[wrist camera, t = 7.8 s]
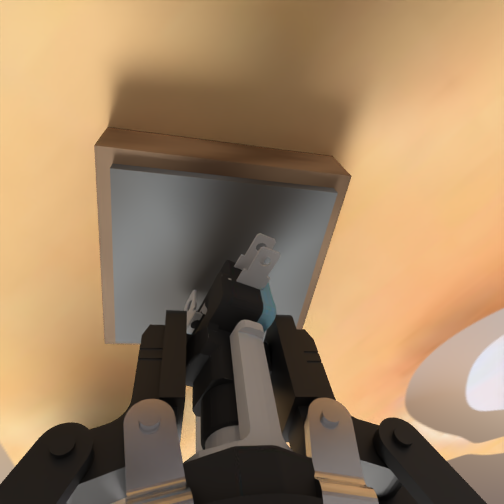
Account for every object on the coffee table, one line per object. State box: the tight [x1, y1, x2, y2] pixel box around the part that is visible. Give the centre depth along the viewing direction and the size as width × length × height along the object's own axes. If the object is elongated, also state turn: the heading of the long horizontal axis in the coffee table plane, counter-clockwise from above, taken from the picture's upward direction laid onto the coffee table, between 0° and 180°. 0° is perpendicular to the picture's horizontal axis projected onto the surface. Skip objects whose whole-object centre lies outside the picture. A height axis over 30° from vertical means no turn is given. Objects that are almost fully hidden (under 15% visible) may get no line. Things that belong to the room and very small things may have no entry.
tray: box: [94, 127, 351, 344], centre depth 18 cm, size 10×10×3 cm
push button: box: [183, 233, 323, 504], centre depth 11 cm, size 7×5×10 cm
